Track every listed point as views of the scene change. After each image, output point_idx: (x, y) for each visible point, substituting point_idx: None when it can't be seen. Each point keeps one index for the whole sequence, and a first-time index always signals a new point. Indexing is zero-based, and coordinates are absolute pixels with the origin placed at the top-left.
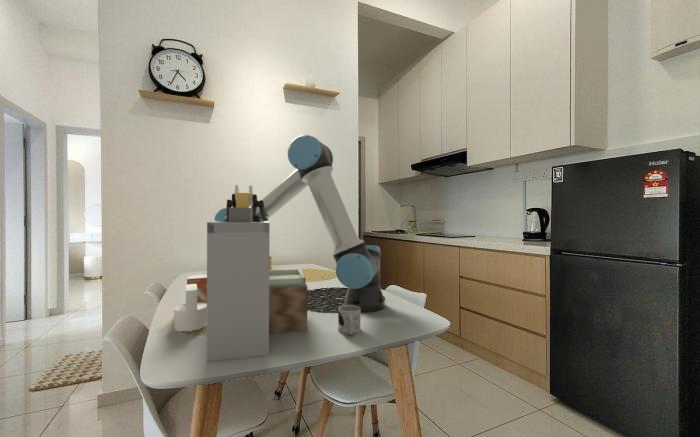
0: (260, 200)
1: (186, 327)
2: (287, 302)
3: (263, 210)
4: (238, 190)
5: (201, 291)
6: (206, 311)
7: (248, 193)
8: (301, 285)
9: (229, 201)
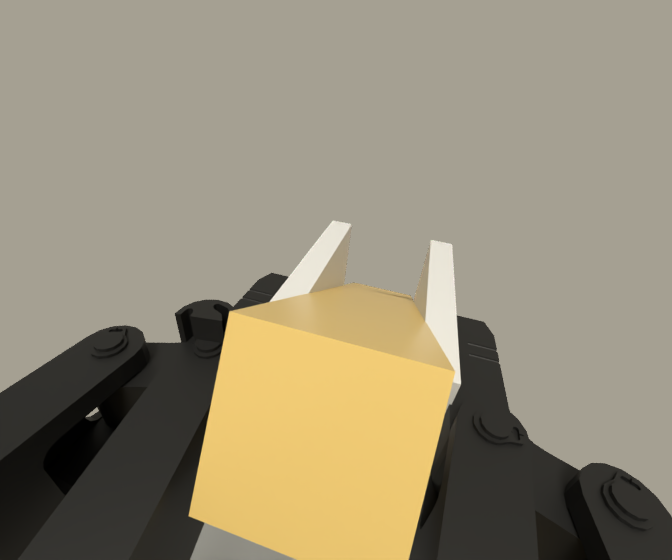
0: (142, 333)
1: None
2: None
3: (59, 468)
4: (425, 277)
5: None
6: None
7: (350, 283)
8: None
9: (567, 474)
